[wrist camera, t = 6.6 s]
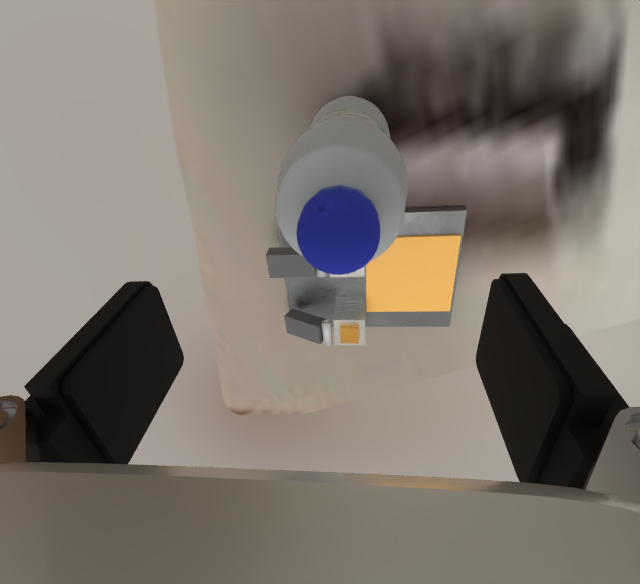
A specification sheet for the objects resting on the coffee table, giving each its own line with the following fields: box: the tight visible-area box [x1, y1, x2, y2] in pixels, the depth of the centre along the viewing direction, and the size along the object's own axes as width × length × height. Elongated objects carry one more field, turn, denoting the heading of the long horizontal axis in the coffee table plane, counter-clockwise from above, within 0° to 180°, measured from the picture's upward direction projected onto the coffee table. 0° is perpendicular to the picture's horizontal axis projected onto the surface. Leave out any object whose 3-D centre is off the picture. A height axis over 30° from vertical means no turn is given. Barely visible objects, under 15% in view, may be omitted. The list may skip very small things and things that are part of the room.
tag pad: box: [366, 234, 461, 312], centre depth 36 cm, size 8×8×1 cm
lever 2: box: [284, 309, 333, 346], centre depth 37 cm, size 5×3×1 cm, turn 94°
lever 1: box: [266, 247, 327, 278], centre depth 32 cm, size 5×3×1 cm, turn 94°
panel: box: [276, 206, 467, 345], centre depth 35 cm, size 17×13×6 cm
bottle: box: [275, 96, 408, 275], centre depth 22 cm, size 7×7×20 cm
